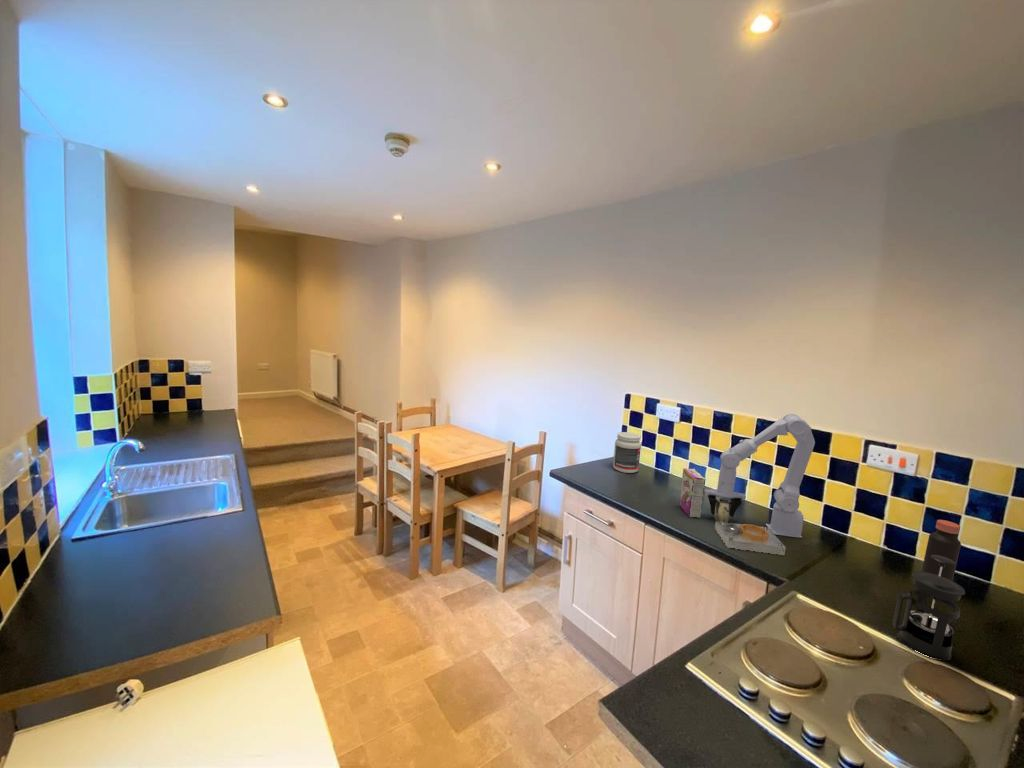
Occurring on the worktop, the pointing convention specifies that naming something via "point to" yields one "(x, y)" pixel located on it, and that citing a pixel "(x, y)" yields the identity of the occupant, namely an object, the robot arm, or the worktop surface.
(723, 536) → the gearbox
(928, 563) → the bottle
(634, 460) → the supplement tub
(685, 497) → the candy bar box
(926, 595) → the french press
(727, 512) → the tan piece
